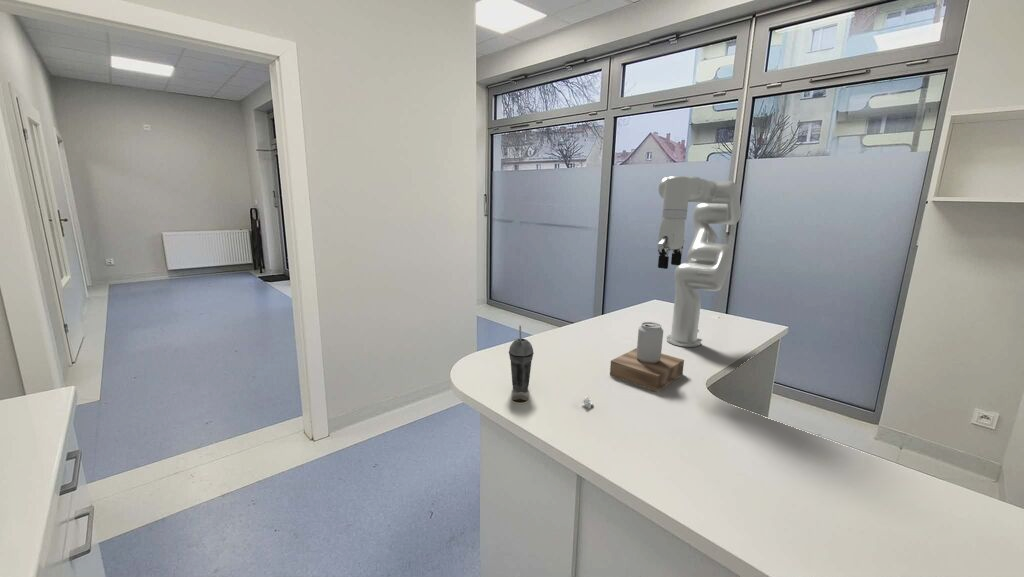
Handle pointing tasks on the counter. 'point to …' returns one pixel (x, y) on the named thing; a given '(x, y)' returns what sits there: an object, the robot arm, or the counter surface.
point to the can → (649, 342)
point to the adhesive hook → (587, 402)
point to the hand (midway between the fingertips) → (669, 266)
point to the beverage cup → (520, 363)
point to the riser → (646, 370)
